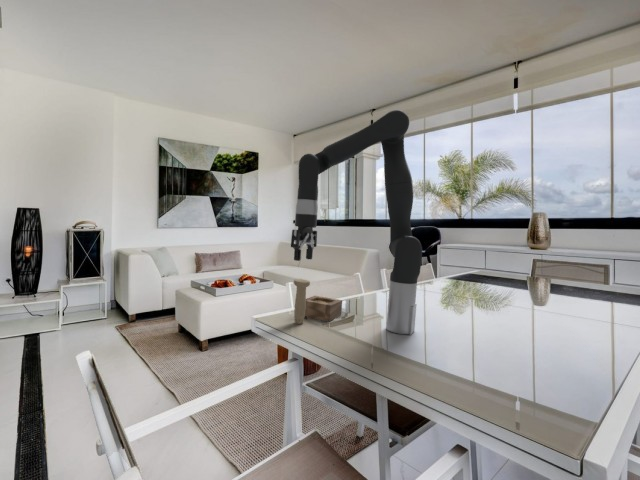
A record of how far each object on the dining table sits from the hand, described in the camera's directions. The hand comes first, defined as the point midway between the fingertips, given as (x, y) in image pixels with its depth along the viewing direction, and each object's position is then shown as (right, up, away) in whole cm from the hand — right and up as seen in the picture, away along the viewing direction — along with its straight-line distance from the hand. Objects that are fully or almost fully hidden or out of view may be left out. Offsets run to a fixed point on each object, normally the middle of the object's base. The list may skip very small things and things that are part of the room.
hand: (303, 259), depth 116 cm
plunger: (+7, -18, +13) cm, 23 cm away
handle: (-2, -23, +1) cm, 23 cm away
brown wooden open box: (+6, -22, +13) cm, 26 cm away
